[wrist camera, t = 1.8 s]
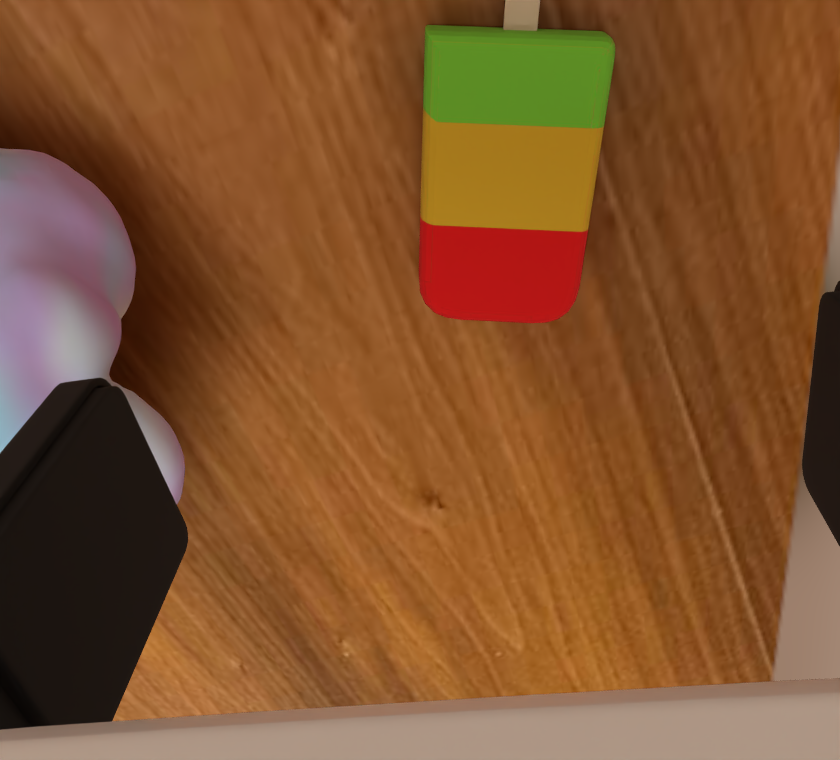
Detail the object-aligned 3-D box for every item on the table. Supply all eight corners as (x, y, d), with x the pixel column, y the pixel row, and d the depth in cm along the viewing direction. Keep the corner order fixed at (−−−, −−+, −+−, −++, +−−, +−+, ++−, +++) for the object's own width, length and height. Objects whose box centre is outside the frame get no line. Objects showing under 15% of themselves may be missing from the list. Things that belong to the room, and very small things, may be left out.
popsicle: (419, 298, 28) (416, 323, 26) (433, -218, 20) (430, -229, 18) (570, 305, 28) (576, 330, 26) (646, -213, 20) (661, -224, 18)
